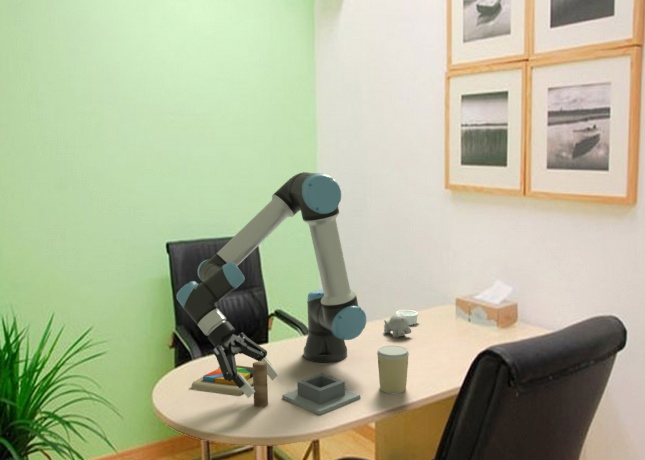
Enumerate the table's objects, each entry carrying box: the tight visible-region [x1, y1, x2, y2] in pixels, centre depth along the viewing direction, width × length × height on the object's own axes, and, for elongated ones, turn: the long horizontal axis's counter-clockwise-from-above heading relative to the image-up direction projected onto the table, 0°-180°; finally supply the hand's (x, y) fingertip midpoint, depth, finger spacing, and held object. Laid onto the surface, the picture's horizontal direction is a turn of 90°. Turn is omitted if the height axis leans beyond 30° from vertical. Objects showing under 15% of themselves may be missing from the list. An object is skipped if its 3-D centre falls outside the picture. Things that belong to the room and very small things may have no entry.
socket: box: [281, 372, 361, 416], centre depth 183 cm, size 16×16×5 cm
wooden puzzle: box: [191, 364, 253, 396], centre depth 197 cm, size 18×19×4 cm
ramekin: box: [395, 309, 419, 326], centre depth 256 cm, size 9×9×4 cm
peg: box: [252, 361, 269, 408], centre depth 179 cm, size 4×4×12 cm
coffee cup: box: [376, 344, 410, 395], centre depth 188 cm, size 9×9×12 cm
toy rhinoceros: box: [383, 313, 412, 339], centre depth 240 cm, size 7×12×8 cm, turn 37°
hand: (264, 386), depth 178 cm, fingers open, 13 cm apart
